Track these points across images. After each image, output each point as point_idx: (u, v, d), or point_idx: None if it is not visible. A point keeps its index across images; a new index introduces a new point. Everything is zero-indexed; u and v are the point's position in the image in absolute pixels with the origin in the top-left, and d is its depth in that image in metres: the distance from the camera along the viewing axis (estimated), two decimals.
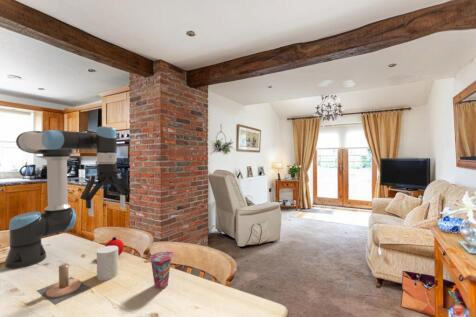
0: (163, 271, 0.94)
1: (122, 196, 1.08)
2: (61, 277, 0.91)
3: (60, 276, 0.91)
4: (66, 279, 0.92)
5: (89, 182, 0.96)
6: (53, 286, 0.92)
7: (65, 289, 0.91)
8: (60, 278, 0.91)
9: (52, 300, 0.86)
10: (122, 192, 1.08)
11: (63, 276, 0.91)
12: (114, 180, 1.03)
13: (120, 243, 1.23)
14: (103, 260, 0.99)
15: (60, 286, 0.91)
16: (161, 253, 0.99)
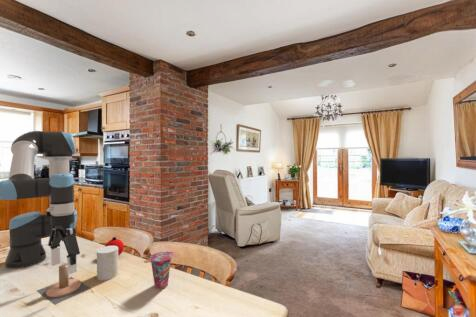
0: (163, 271, 0.94)
1: None
2: (61, 277, 0.91)
3: (60, 276, 0.91)
4: (66, 279, 0.92)
5: None
6: (53, 286, 0.92)
7: (65, 289, 0.91)
8: (60, 278, 0.91)
9: (52, 300, 0.86)
10: None
11: (62, 276, 0.91)
12: (60, 235, 0.90)
13: (120, 243, 1.23)
14: (103, 260, 0.99)
15: (60, 286, 0.91)
16: (161, 253, 0.99)
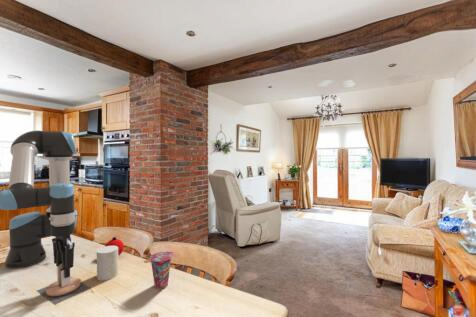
0: (163, 271, 0.94)
1: None
2: None
3: (60, 274, 0.91)
4: None
5: None
6: (53, 285, 0.92)
7: (65, 287, 0.91)
8: (60, 276, 0.91)
9: (52, 300, 0.86)
10: None
11: None
12: (59, 246, 0.90)
13: (120, 243, 1.23)
14: (103, 260, 0.99)
15: (60, 284, 0.91)
16: (161, 253, 0.99)
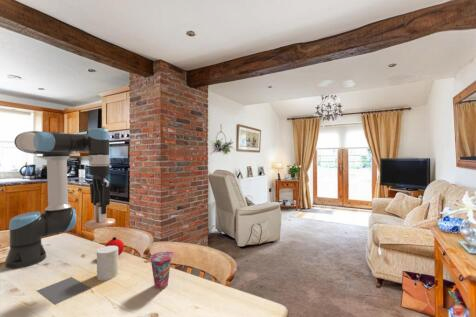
0: (163, 271, 0.94)
1: None
2: (98, 212, 0.99)
3: (97, 211, 0.99)
4: None
5: None
6: (91, 221, 1.01)
7: (102, 223, 0.99)
8: (97, 213, 0.99)
9: (52, 300, 0.86)
10: None
11: None
12: (97, 184, 0.98)
13: (120, 243, 1.23)
14: (103, 260, 0.99)
15: (97, 220, 0.99)
16: (161, 253, 0.99)
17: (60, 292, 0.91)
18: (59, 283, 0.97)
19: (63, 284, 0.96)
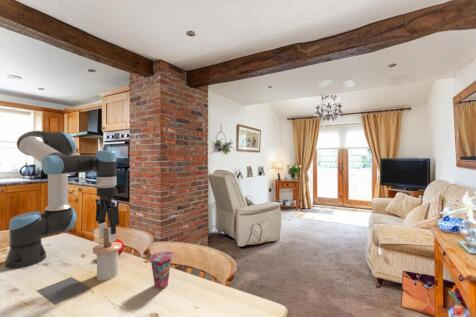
0: (163, 271, 0.94)
1: None
2: (105, 238, 1.02)
3: (105, 237, 1.02)
4: None
5: None
6: (98, 246, 1.03)
7: (109, 248, 1.01)
8: (105, 238, 1.02)
9: (52, 300, 0.86)
10: None
11: (107, 237, 1.02)
12: (105, 205, 1.00)
13: None
14: (103, 260, 0.99)
15: (105, 246, 1.02)
16: (161, 253, 0.99)
17: (60, 292, 0.91)
18: (59, 283, 0.97)
19: (63, 284, 0.96)
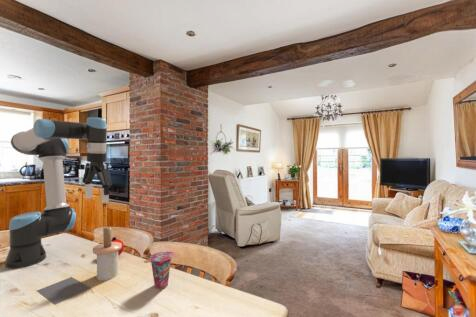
0: (163, 271, 0.94)
1: None
2: (105, 238, 1.02)
3: (105, 237, 1.02)
4: (110, 240, 1.03)
5: None
6: (98, 246, 1.03)
7: (109, 248, 1.01)
8: (105, 238, 1.02)
9: (52, 300, 0.86)
10: None
11: (107, 237, 1.02)
12: (95, 170, 1.04)
13: None
14: (103, 260, 0.99)
15: (105, 246, 1.02)
16: (161, 253, 0.99)
17: (60, 292, 0.91)
18: (59, 283, 0.97)
19: (63, 284, 0.96)
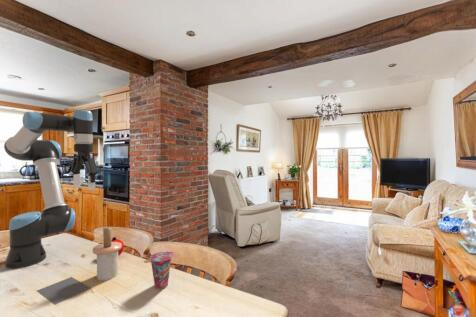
0: (163, 271, 0.94)
1: None
2: (105, 238, 1.02)
3: (105, 237, 1.02)
4: (110, 240, 1.03)
5: None
6: (98, 246, 1.03)
7: (109, 248, 1.01)
8: (105, 238, 1.02)
9: (52, 300, 0.86)
10: None
11: (107, 237, 1.02)
12: (82, 159, 1.10)
13: None
14: (103, 260, 0.99)
15: (104, 246, 1.02)
16: (161, 253, 0.99)
17: (60, 292, 0.91)
18: (59, 283, 0.97)
19: (63, 284, 0.96)
